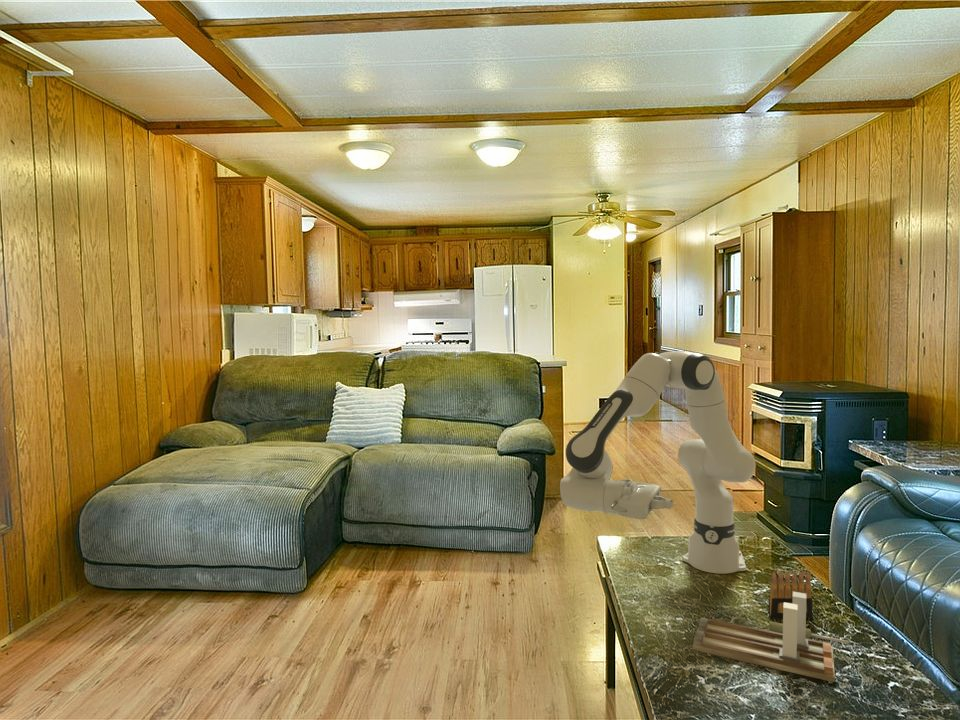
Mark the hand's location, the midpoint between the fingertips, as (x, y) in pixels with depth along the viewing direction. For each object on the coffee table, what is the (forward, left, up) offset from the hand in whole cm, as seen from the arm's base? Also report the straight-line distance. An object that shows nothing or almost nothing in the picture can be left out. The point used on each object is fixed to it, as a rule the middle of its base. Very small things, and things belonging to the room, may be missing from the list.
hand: (672, 504), depth 158 cm
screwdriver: (-4, +30, -31) cm, 43 cm away
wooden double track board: (+7, +22, -30) cm, 38 cm away
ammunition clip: (-15, +27, -31) cm, 44 cm away
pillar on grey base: (+3, +29, -29) cm, 41 cm away
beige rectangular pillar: (+10, +28, -29) cm, 41 cm away
